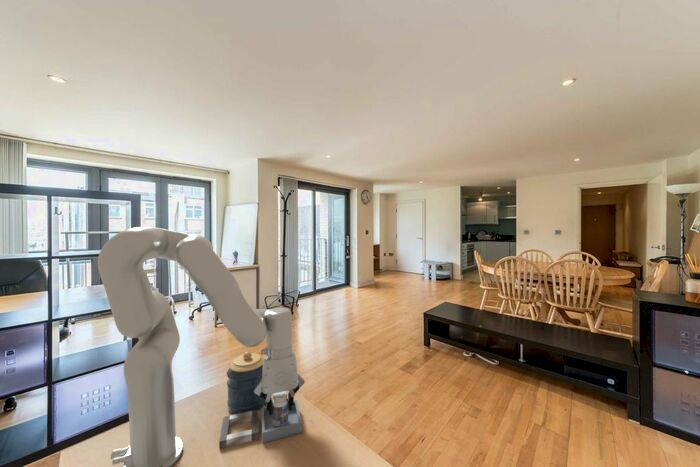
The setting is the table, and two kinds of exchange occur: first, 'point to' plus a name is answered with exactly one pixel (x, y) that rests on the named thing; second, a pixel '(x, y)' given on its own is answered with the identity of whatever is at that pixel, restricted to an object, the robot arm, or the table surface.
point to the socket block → (240, 436)
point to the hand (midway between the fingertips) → (280, 409)
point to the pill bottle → (280, 409)
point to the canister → (244, 383)
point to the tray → (283, 431)
